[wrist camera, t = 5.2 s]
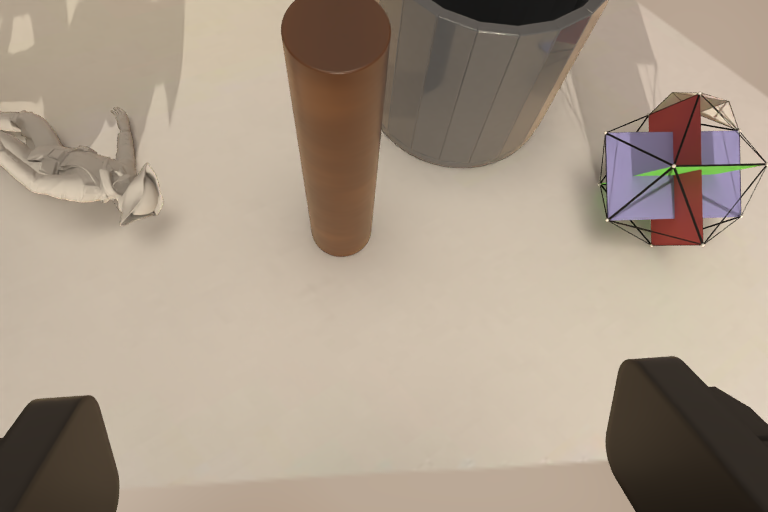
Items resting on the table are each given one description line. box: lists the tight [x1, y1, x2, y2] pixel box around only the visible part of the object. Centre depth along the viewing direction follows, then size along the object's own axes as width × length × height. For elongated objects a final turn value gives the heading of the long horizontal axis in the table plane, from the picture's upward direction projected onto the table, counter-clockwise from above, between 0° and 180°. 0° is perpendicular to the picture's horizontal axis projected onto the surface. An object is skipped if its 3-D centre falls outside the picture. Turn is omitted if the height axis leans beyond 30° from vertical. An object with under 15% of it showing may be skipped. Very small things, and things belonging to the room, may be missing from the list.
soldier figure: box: [0, 107, 163, 226], centre depth 27 cm, size 8×5×12 cm
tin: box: [375, 0, 609, 168], centre depth 27 cm, size 10×10×10 cm
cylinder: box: [281, 0, 391, 257], centre depth 22 cm, size 3×3×14 cm
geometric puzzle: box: [598, 92, 768, 247], centre depth 27 cm, size 7×7×8 cm
